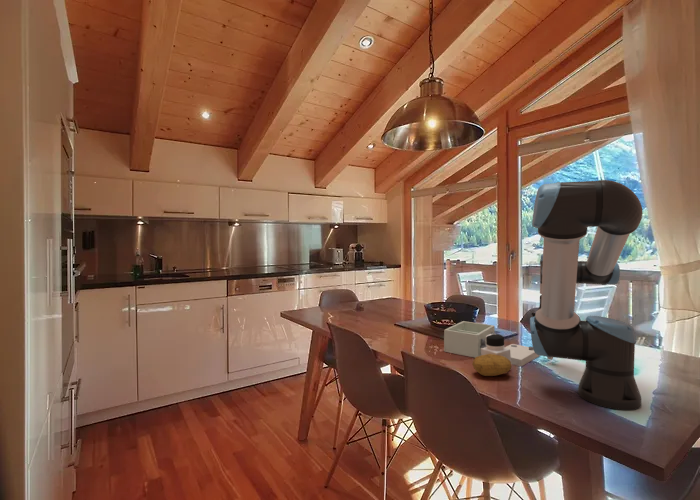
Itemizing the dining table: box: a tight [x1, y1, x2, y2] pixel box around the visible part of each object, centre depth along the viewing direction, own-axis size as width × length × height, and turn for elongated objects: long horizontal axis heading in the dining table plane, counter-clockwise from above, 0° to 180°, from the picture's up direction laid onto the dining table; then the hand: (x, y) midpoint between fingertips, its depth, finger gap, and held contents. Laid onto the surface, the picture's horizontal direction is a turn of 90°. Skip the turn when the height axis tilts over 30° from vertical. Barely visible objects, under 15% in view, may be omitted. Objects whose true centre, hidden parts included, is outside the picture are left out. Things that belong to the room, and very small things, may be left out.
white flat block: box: [504, 343, 541, 367], centre depth 148 cm, size 18×11×4 cm, turn 133°
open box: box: [443, 320, 496, 359], centre depth 158 cm, size 20×18×9 cm
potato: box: [471, 354, 512, 377], centre depth 129 cm, size 9×13×7 cm
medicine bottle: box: [481, 333, 511, 362], centre depth 135 cm, size 7×7×12 cm
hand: (550, 358), depth 140 cm, fingers closed
